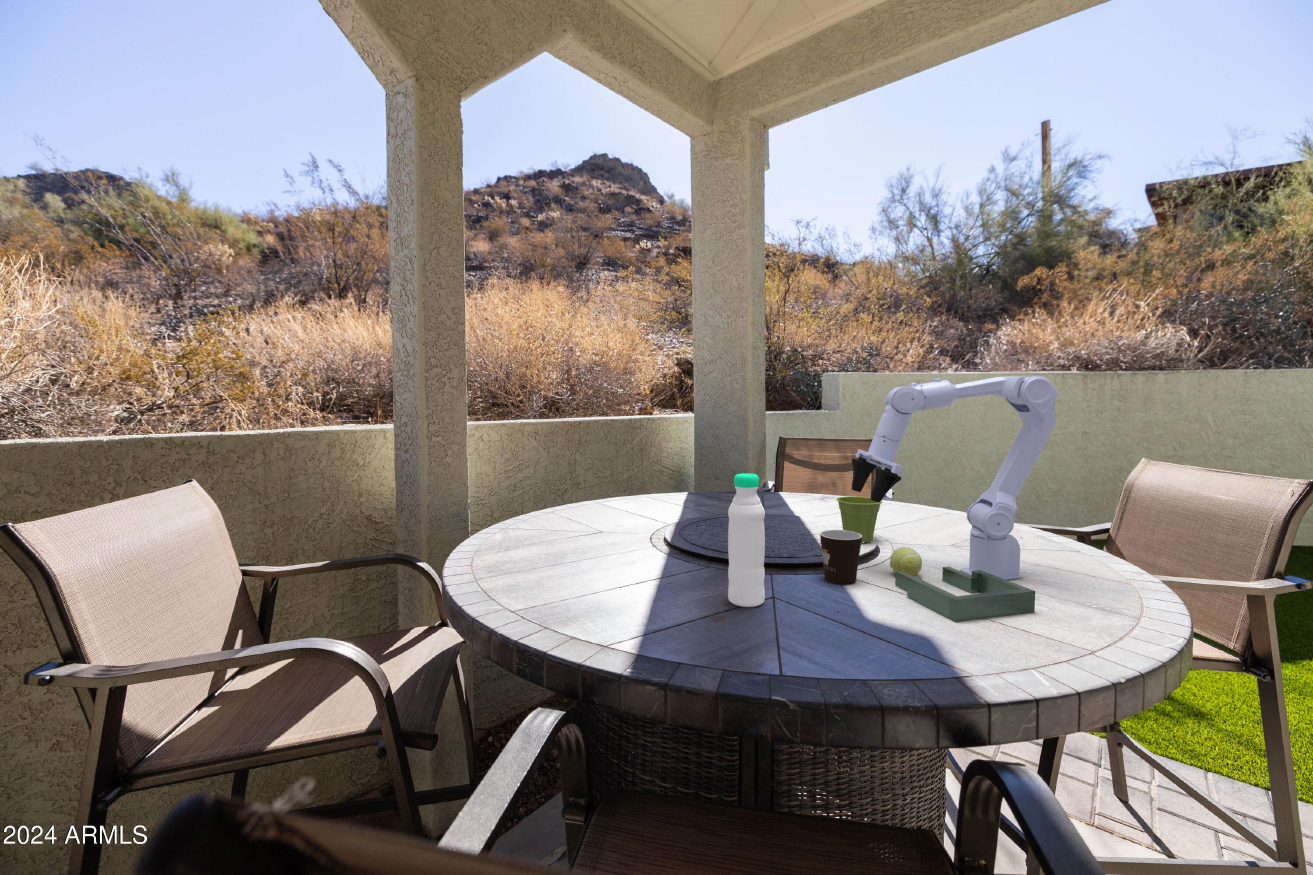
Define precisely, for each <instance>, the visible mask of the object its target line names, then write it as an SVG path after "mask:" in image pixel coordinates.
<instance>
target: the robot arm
mask: <svg viewBox="0 0 1313 875" xmlns="http://www.w3.org/2000/svg"><path fill="white" fill-rule="evenodd" d="M989 395H992V396H995V397H997V398H1003V399H1005V400H1004V401H1006V402H1007V403H1008V404H1009V405H1010V406H1011V407H1012V408H1013V410H1015V411H1016V412H1017V413H1018V416H1019V418H1020V419H1021V422H1022V426H1021V428H1020V430H1019V431H1018V433H1017V436H1016V437H1015V439H1014V441H1013V443H1012V445H1011V447H1010V448H1009V450H1008V453H1007V454H1006V456H1005V458H1004V460H1003V461H1002V464H1001V466H1000V468H999V470H998V471H997V473H996V475H995V477H994V479H993V481H992V483H991V485H990V487H989V488H987V490H985V491H983V493H981V494H980V496H979V497H978V499H977V500H976V501H975V502H973V503H972V504H971V505H970V506H969V507H968V509H967V512H966V519H967V521H968V523H969V524H970V525H971V529H970V530H969V531H970V532H969V560H968V561H969V564H968V567H965V568H964V567H962V568H960V569H959V571H961V572H964V573H966V574H969V575H971V576H972V571H975V570H981V571H984V572H987V573H989V574H992V575H995V576H997V577H1000V578H1002V579H1005V580H1015V579H1023V574H1020V567H1021V566H1020V565H1021V546H1020V543H1019V541H1018V539H1017V538H1016V537H1015V536H1013V535H1012V534H1011V533H1012V531H1013V530H1014V526H1015V516H1016V514H1017V512H1018V505H1017V500H1016V499H1017V498H1018V496H1019V494H1020V492H1021V490H1022V488H1023V486H1024V484H1025V482H1026V481H1027V478H1028V477H1029V475H1030V473H1031V471H1032V469H1033V467H1034V466H1035V465H1036V461H1037V460H1038V458H1039V457H1040V454H1041V452H1042V450H1044V446H1045V445H1046V443H1047V441H1048V439H1049V437H1050V436H1051V434H1052V432H1053V430H1054V428H1055V425H1056V422H1057V420H1056V418H1057V417H1056V413H1057V412H1056V400H1057V398H1058V396H1059V393H1058V391H1057V389H1056V387H1055V386H1054V384H1053V382H1052V381H1051V379H1049V378H1048V377H1045V376H1043V375H1033V376H994V377H990V378H989V377H988V378H985V379H980V380H979V379H978V380H973V381H967V382H962V383H957V384H953V383H952V382H950V381H949V380H947V379H944V380H942V378H940V377H939V378H933V380H932V381H931V382H925V383H919V384H918V383H917V382H911V383H910V384H909V385H907V386H898V387H895V388H893V389H892V390H890V391H889V393H888V394H887V395H885V405H886V406H885V409H884V412H883V413H882V415H881V418H880V420H879V422H878V425H877V427H876V430H875V433H874V435H873V437H872V441H871V443H870V445H869V448H868V451H866V450H863V449H859V448H858V449H857V453H856V455H855V458H854V457H853V458H852V459H851V464H852V481H851V490H852V491H854V492H858V493H861V492H862V491H863V489H864V487H865V484H866V483H867V480H868V479H869V477H870V475H871V474H873V471H874V470H875V477H874V478H875V480H874V485H873V488H872V490H871V495H870V498H871V499H870V500H872V501H875V502H879V503H880V501H881V500H882V501H883V499H884V497H885V496H886V494H888V492H889V491H891V489H892V487H894V486H895V485H896V484H897V483H899V482H901V480H902V477H903V476H901V475H902V473H903V471H904V468H905V467H904V466H903V465H900V464H898V463H896V462H895V459H896V456H897V454H898V451H899V448H900V446H901V443H902V442H903V439H904V436H905V434H906V431H907V429H908V426H909V422H910V420H911V418H912V415H913V414H914V413H915V412H916V411H917V410H918V411H926V410H932V409H939V408H940V409H941V408H946V407H951V406H952V405H953V404H954V402H956V400H959V399H966V398H967V399H968V398H973V397H980V396H981V397H982V396H989Z"/></svg>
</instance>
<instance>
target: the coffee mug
mask: <svg viewBox="0 0 1313 875" xmlns="http://www.w3.org/2000/svg"><path fill="white" fill-rule="evenodd" d="M819 536H820V538H819V539H820V547H821V556H822V566H823V574H824V576H823V577H824V580H825V582H827V583H829V584H832V585H837V586H850V585H854V584H855V583H856V582H857V574H858V570H859V560H860V554H861V546H862V544H861V541H862V535H861V534H859V533H856V532H852V531H846V530H843V529H829V530H828V529H827V530H823V531H821V532H820V533H819Z"/></svg>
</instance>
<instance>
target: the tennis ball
mask: <svg viewBox="0 0 1313 875" xmlns="http://www.w3.org/2000/svg"><path fill="white" fill-rule="evenodd" d="M889 566H890V568H891V569H892V571H893V572H894V573H896V571H903V572H905V573H908V574H910V575H912V576H916V575H917V574H919V573H920V572H921V571H922V568H923V567H922V566H923V561H922V557H921V555H920V554H919V552H917V551H916V550H915V549H914V548H911V547H909V546H902V547H899V548H896V549H895V550H894V551H893V552H892V553H891V555H890V558H889Z"/></svg>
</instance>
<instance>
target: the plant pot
mask: <svg viewBox="0 0 1313 875" xmlns="http://www.w3.org/2000/svg"><path fill="white" fill-rule="evenodd" d="M870 499H871V497H870V496H869V497H866V496H852V495H851V496H850V495H849V496H840V497H836V501H837V503H838V509H839V510H840V518H841V526H842V530H846V531H852V532H856V533H859V534H861V535H862V541H861V543H862V544H864V543H863V542H866V543H868V542H870V543H872V542H873V538H874V533H875V528H876V524H877V520H878V519H877V518H878V515H879V514H878V513H879V511H880V507H881V504H883V499H882V500H881V501H880V503H879V502H875V501H872V500H870ZM871 541H872V542H871Z"/></svg>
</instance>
